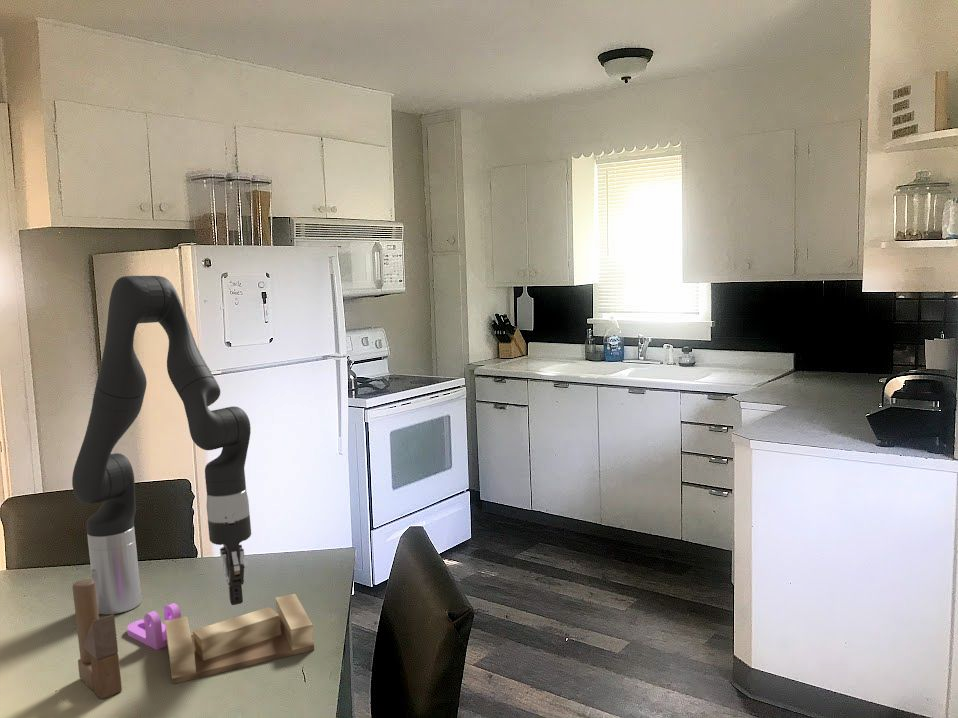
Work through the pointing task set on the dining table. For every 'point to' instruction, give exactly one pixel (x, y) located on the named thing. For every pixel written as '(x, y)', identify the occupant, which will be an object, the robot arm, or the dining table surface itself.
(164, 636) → the bracket
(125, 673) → the dining table surface
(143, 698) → the dining table surface
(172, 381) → the robot arm
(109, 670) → the wooden block
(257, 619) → the oak plank
